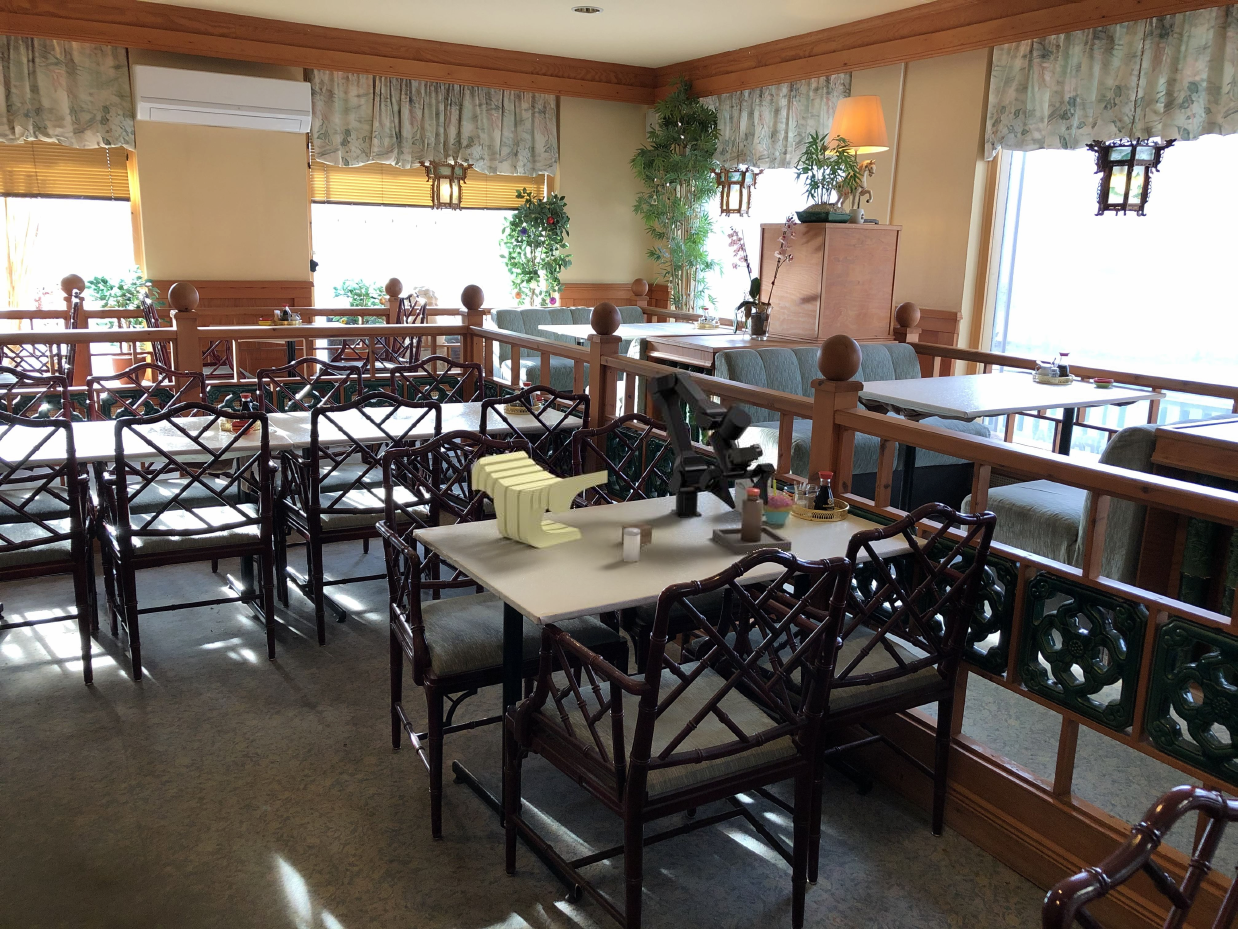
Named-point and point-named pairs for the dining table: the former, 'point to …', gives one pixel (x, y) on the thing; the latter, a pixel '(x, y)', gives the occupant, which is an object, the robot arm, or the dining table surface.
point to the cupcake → (777, 507)
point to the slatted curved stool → (529, 497)
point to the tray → (736, 545)
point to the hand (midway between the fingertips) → (750, 506)
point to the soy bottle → (751, 516)
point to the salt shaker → (631, 544)
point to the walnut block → (644, 532)
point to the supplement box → (745, 489)
